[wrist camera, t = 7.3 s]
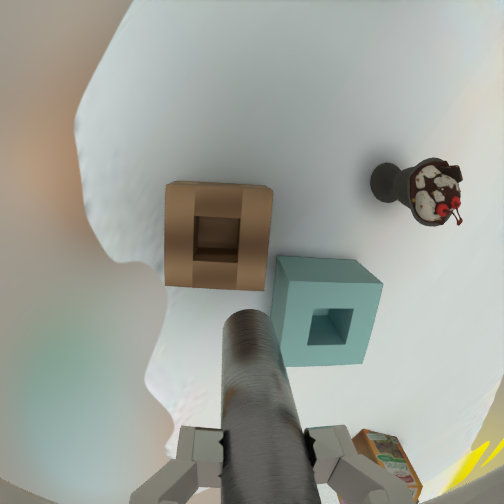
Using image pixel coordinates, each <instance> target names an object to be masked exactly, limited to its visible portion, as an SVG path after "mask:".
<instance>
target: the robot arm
mask: <svg viewBox="0 0 504 504" xmlns="http://www.w3.org/2000/svg"><path fill="white" fill-rule="evenodd" d="M303 436H304V440H305V443H306V447H307V451H308V455H309V458H310V462H311V466H312V470H313V474H314V477H315V481H316V484H324V483H328V485H329V486H330V487H331V488H332V489H333V490H334V491H335V492H336V493H337V494H339V495H340V496H341V497H342V498H343V499H344V500H345V501H346V502H347V503H349V504H416V503H415V501H414V499H413V497H412V495H411V493H410V491H409V489H408V487H407V484H406V482H405V481H403V480H401V479H400V478H398V477H397V476H395V475H393V474H392V473H390V472H388V471H387V470H385V469H384V468H382V467H381V466H379V465H377V464H376V463H374V462H373V461H371V460H370V459H368V458H367V457H365V456H364V455H362V454H358V453H357V451H356V448H355V446H354V444H353V441H352V439H351V437H350V434H349V432H348V430H347V427H346V426H345V425H336V426H324V427H313V428H306V429H305V430H304V433H303ZM222 471H223V429H214V428H202V427H191V426H181V428H180V433H179V440H178V447H177V455H176V459H171V460H170V461H169V462H168V463H167V464H166V465H165V466H163V467H162V468H161V469H160V470H159V471H158V472H157V473H155V474H154V475H153V476H152V477H151V478H150V479H148V480H147V481H146V482H145V483H144V484H143V485H141V486H140V487H139V488H138V489H137V490H135V491H134V492H133V493H132V494H131V497H130V501H129V504H185V503H186V502H187V501H188V500H189V499H190V498H191V496H192V495H193V494H194V493H195V492H196V490H197V489H198V487H212V488H213V487H214V488H221V473H222ZM0 504H58V503H55V502H53V501H50V500H48V499H45V498H43V497H40V496H38V495H35V494H33V493H31V492H28V491H26V490H24V489H22V488H19V487H17V486H15V485H13V484H11V483H9V482H7V481H5V480H3V479H1V478H0ZM420 504H504V464H503V465H502V466H500V467H498V468H496V469H495V470H493V471H491V472H489V473H487V474H485V475H483V476H482V477H480V478H478V479H476V480H474V481H472V482H470V483H468V484H465V485H464V486H461V487H459V488H457V489H455V490H452V491H450V492H448V493H445V494H443V495H441V496H438V497H436V498H433V499H431V500H428V501H425V502H423V503H420Z"/></svg>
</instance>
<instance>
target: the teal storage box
mask: <svg viewBox="0 0 504 504" xmlns="http://www.w3.org/2000/svg"><path fill="white" fill-rule="evenodd" d="M382 287H383V283H382V282H381V281H380V280H378V279H377V278H376V277H375V276H374V275H373V274H372V273H370V272H369V271H368V270H367V269H366V268H364V267H363V266H362V265H361V264H360V263H359V262H357V261H356V260H346V259H328V258H309V257H291V256H277V263H276V273H275V282H274V291H273V300H272V309H271V317H270V319H271V320H272V322H273V324H274V327H275V331H276V335H277V338H278V342H279V346H280V349H281V353H282V357H283V361H284V364H285V367H305V366H332V365H350V364H362V363H363V360H364V356H365V353H366V350H367V346H368V343H369V339H370V335H371V332H372V328H373V324H374V321H375V317H376V313H377V309H378V305H379V300H380V296H381V292H382Z"/></svg>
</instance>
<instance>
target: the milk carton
mask: <svg viewBox="0 0 504 504" xmlns="http://www.w3.org/2000/svg"><path fill="white" fill-rule="evenodd" d="M352 441H353V444H354V446H355V448H356V451H357V453H358V454H362V455H364V456H365V457H367V458H368V459H370V460H371V461H373V462H374V463H376V464H377V465H379V466H381V467H382V468H384V469H385V470H387V471H388V472H390V473H392V474H393V475H395V476H397V477H398V478H400V479H401V480H403V481H405V482H406V484H407V487H408V489H409V491H410V493H411V495H412V497H413V499H414V501H415V503H416V501H417V500H418V498H419V496H420V493H421V490H422V487H423V486H422V484H421V482H420V480H419V478H418V476H417V474H416V472H415V471H414V469H413V467H412V465H411V463H410V461H409V459H408V457H407V456H406V454H405V452H404V450H403V448H402V446H401V444H400V443H399V441H398V439H397V437H395V436H390V435H386V434H382V433H378V432H374V431H370V430H366V429H362V430H361V431H360V432H359V433H358V434H357V435H356V436H355V437H354V438H353V439H352ZM337 496H338V499H339V502H340V504H349V503H347V502H346V501H345V500H344V499H343V498H342V497H341V496H340V495H339V494H337Z"/></svg>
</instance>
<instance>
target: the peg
mask: <svg viewBox="0 0 504 504" xmlns="http://www.w3.org/2000/svg"><path fill="white" fill-rule="evenodd" d="M221 429H223V471H222V473H221V504H321V500H320V496H319V492H318V489H317V485H316V481H315V477H314V474H313V470H312V466H311V462H310V458H309V455H308V451H307V447H306V443H305V440H304V436H303V432H302V428H301V425H300V421H299V417H298V413H297V409H296V406H295V402H294V398H293V394H292V391H291V387H290V383H289V379H288V376H287V372H286V368H285V364H284V361H283V357H282V353H281V349H280V346H279V342H278V338H277V335H276V331H275V327H274V324H273V322H272V320H271V319H270V317H269V316H268V315H266V314H265V313H263V312H261V311H259V310H254V309H245V310H241V311H238V312H236V313H234V314H233V315H231V316H230V317H229V318H228V319H227V321H226V322H225V324H224V327H223V342H222V384H221Z"/></svg>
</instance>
